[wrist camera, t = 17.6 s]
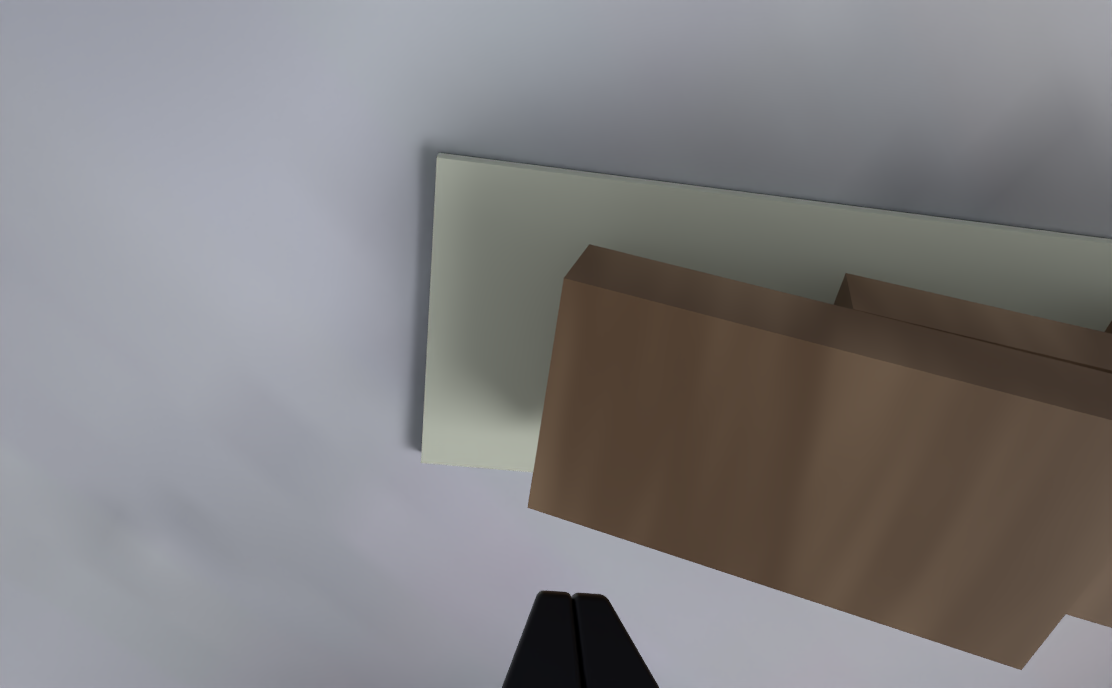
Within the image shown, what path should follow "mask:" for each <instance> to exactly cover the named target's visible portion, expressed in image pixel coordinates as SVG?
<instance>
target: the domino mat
mask: <svg viewBox="0 0 1112 688" xmlns="http://www.w3.org/2000/svg"><path fill="white" fill-rule="evenodd" d="M589 244H591V245H595V246H599V247H603V248H607V249H611V250H615V251H619V252H623V253H627V254H631V255H635V256H639V257H643V258H647V259H651V260H655V261H659V262H663V263H667V264H671V265H676V266H680V267H684V268H688V269H692V270H696V271H700V272H704V273H708V274H712V275H716V276H720V277H724V278H728V279H732V280H736V281H740V282H744V283H748V284H752V285H756V286H760V287H764V288H768V289H772V290H776V291H780V292H784V293H788V294H792V295H797V296H801V297H805V298H809V299H813V300H817V301H821V302H825V303H829V304H833V305H834V302H835V299H836V297H837V294H838V292H839V289H840V286H841V284H842V281H843V279H844V276H845V273H848V274H853V275H857V276H862V277H866V278H870V279H875V280H879V281H883V282H888V283H892V284H897V285H901V286H905V287H910V288H914V289H918V290H923V291H927V292H932V293H936V294H940V295H945V296H949V297H953V298H958V299H962V300H967V301H971V302H975V303H980V304H984V305H988V306H993V307H997V308H1001V309H1006V310H1010V311H1015V312H1019V313H1023V314H1028V315H1032V316H1036V317H1041V318H1045V319H1050V320H1054V321H1058V322H1063V323H1067V324H1071V325H1076V326H1080V327H1085V328H1089V329H1093V330H1098V331H1102V332H1105V330H1106V328H1107V327H1108V325H1109V324H1110V322H1111V321H1112V239H1106V238H1099V237H1091V236H1083V235H1075V234H1067V233H1060V232H1052V231H1044V230H1036V229H1029V228H1021V227H1013V226H1005V225H997V224H990V223H982V222H974V221H966V220H958V219H951V218H943V217H935V216H927V215H920V214H912V213H904V212H896V211H888V210H881V209H873V208H865V207H857V206H850V205H842V204H834V203H826V202H818V201H811V200H803V199H795V198H787V197H779V196H772V195H764V194H756V193H748V192H741V191H733V190H725V189H717V188H709V187H702V186H694V185H686V184H678V183H671V182H663V181H655V180H647V179H639V178H632V177H624V176H616V175H608V174H601V173H593V172H585V171H577V170H569V169H562V168H554V167H546V166H538V165H530V164H523V163H515V162H507V161H499V160H492V159H484V158H476V157H468V156H460V155H453V154H445V153H438V156H437V161H436V181H435V200H434V220H433V239H432V259H431V278H430V298H429V317H428V337H427V356H426V376H425V395H424V414H423V434H422V453H421V463H428V464H440V465H452V466H464V467H476V468H488V469H500V470H512V471H524V472H533V470H534V464H535V457H536V451H537V445H538V438H539V432H540V426H541V419H542V413H543V407H544V400H545V394H546V387H547V381H548V375H549V368H550V362H551V356H552V349H553V343H554V337H555V330H556V324H557V317H558V311H559V305H560V298H561V292H562V286H563V279H564V277H565V276H566V274H567V273H568V272H569V270H570V269H571V268H572V266H573V265H574V264H575V262H576V261H577V260H578V258H579V257H580V256H581V254H582V253H583V252H584V251H585V249H586V248H587V247H588V245H589Z"/></svg>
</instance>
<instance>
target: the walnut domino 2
mask: <svg viewBox="0 0 1112 688" xmlns="http://www.w3.org/2000/svg"><path fill="white" fill-rule="evenodd" d="M834 305H837V306H841V307H845V308H849V309H853V310H857V311H861V312H865V313H869V314H873V315H877V316H881V317H885V318H889V319H893V320H897V321H901V322H905V323H909V324H913V325H917V326H922V327H926V328H930V329H934V330H938V331H942V332H946V333H950V334H954V335H958V336H962V337H966V338H970V339H974V340H978V341H982V342H986V343H990V344H994V345H998V346H1002V347H1006V348H1010V349H1014V350H1018V351H1022V352H1026V353H1030V354H1034V355H1038V356H1042V357H1047V358H1051V359H1055V360H1059V361H1063V362H1067V363H1071V364H1075V365H1079V366H1083V367H1087V368H1091V369H1095V370H1099V371H1103V372H1107V373H1111V374H1112V334H1111V333H1106V332H1102V331H1098V330H1093V329H1089V328H1085V327H1080V326H1076V325H1071V324H1067V323H1063V322H1058V321H1054V320H1050V319H1045V318H1041V317H1036V316H1032V315H1028V314H1023V313H1019V312H1015V311H1010V310H1006V309H1001V308H997V307H993V306H988V305H984V304H980V303H975V302H971V301H967V300H962V299H958V298H953V297H949V296H945V295H940V294H936V293H932V292H927V291H923V290H918V289H914V288H910V287H905V286H901V285H897V284H892V283H888V282H883V281H879V280H875V279H870V278H866V277H862V276H857V275H853V274H848V273H845V276H844V279H843V281H842V284H841V286H840V289H839V292H838V294H837V297H836V299H835V302H834ZM1066 614H1067V615H1071V616H1074V617H1077V618H1081V619H1084V620H1087V621H1091V622H1094V623H1098V624H1101V625H1104V626H1108V627H1111V628H1112V556H1111V557H1110V559H1109V560H1108V561H1107V562H1106V564H1105V565H1104V566H1103V567H1102V569H1101V570H1100V571H1099V572H1098V574H1097V575H1096V576H1095V577H1094V579H1093V580H1092V581H1091V583H1090V584H1089V585H1088V586H1087V588H1086V589H1085V590H1084V591H1083V593H1082V594H1081V595H1080V596H1079V598H1078V599H1077V600H1076V602H1075V603H1074V604H1073V605H1072V607H1071V608H1070V609H1069V610H1068V612H1067V613H1066Z"/></svg>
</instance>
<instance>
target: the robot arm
mask: <svg viewBox="0 0 1112 688" xmlns="http://www.w3.org/2000/svg"><path fill="white" fill-rule="evenodd" d="M502 688H659V686H658V685H657V683H656V681H655V679H654V678H653V676H652V674H651V672H650V671H649V669H648V667H647V665H646V664H645V662H644V660H643V659H642V657H641V655H640V653H639V652H638V650H637V648H636V646H635V645H634V643H633V641H632V640H631V638H630V636H629V634H628V633H627V631H626V629H625V627H624V626H623V624H622V622H621V620H620V619H619V617H618V615H617V614H616V612H615V610H614V608H613V607H612V605H611V603H610V602H609V600H608V599H607V598H606V597H605V596H604V595H601V594H589V593H575V594H574V595H573V596H572V597H571V595H570V594H569V593H567V592H559V591H540V592H539V593H538V594H537V596H536V599H535V601H534V604H533V606H532V609H531V612H530V614H529V617H528V620H527V622H526V625H525V628H524V630H523V633H522V636H521V638H520V641H519V644H518V646H517V649H516V651H515V654H514V657H513V659H512V662H511V665H510V667H509V670H508V673H507V675H506V678H505V681H504V683H503V686H502Z"/></svg>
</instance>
